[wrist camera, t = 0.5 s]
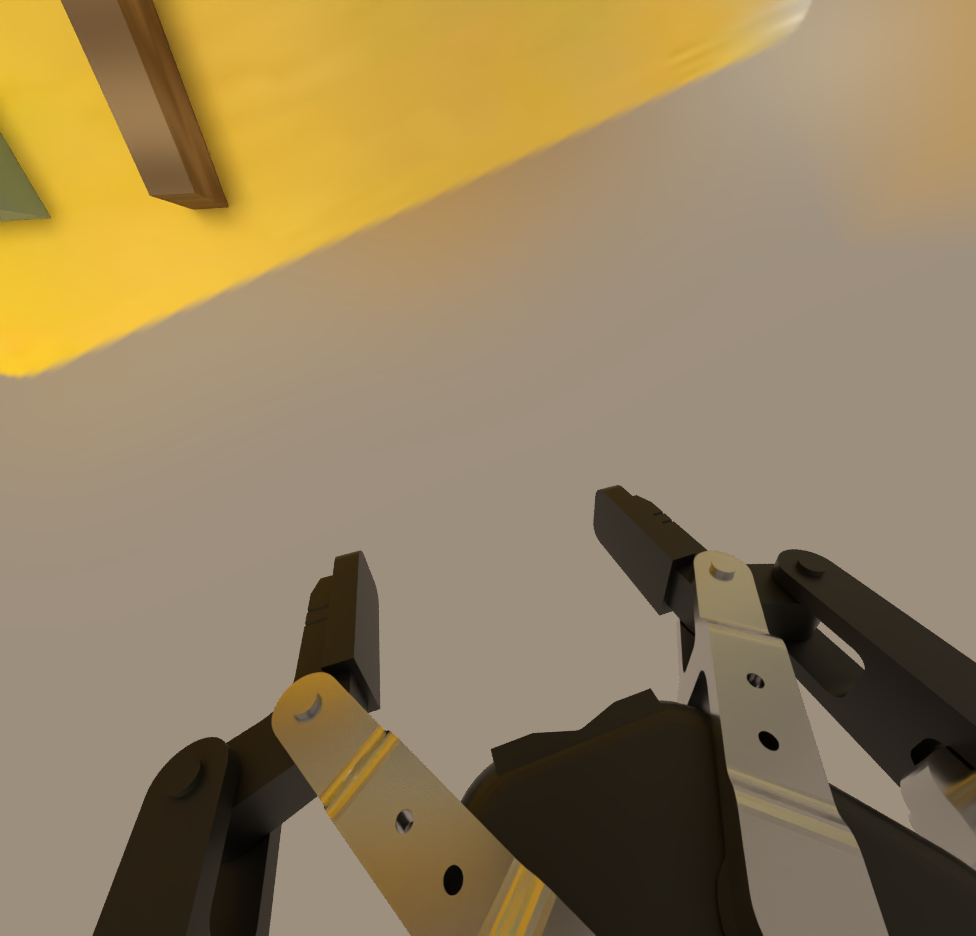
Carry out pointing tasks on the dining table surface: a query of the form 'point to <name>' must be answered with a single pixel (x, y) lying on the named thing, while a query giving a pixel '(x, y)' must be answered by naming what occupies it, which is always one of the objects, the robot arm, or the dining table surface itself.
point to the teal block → (17, 190)
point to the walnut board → (147, 99)
